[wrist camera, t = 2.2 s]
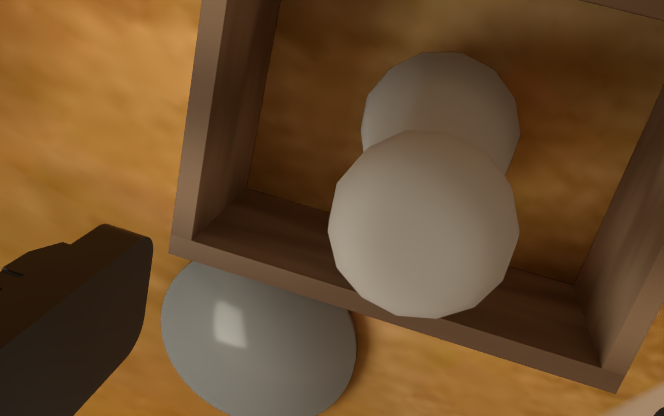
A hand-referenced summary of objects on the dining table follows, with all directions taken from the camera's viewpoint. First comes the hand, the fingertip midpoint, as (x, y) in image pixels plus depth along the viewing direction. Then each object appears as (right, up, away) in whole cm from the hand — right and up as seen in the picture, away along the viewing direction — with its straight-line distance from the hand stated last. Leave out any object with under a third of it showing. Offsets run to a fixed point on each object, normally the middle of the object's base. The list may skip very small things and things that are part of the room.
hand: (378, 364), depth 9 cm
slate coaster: (-4, -4, +21) cm, 22 cm away
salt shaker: (+4, +6, +15) cm, 17 cm away
